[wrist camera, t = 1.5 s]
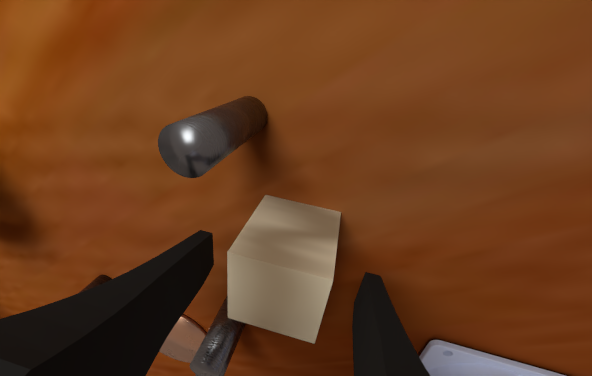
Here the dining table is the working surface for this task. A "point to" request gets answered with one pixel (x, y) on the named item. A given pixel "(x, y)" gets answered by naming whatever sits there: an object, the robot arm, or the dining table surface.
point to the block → (283, 267)
